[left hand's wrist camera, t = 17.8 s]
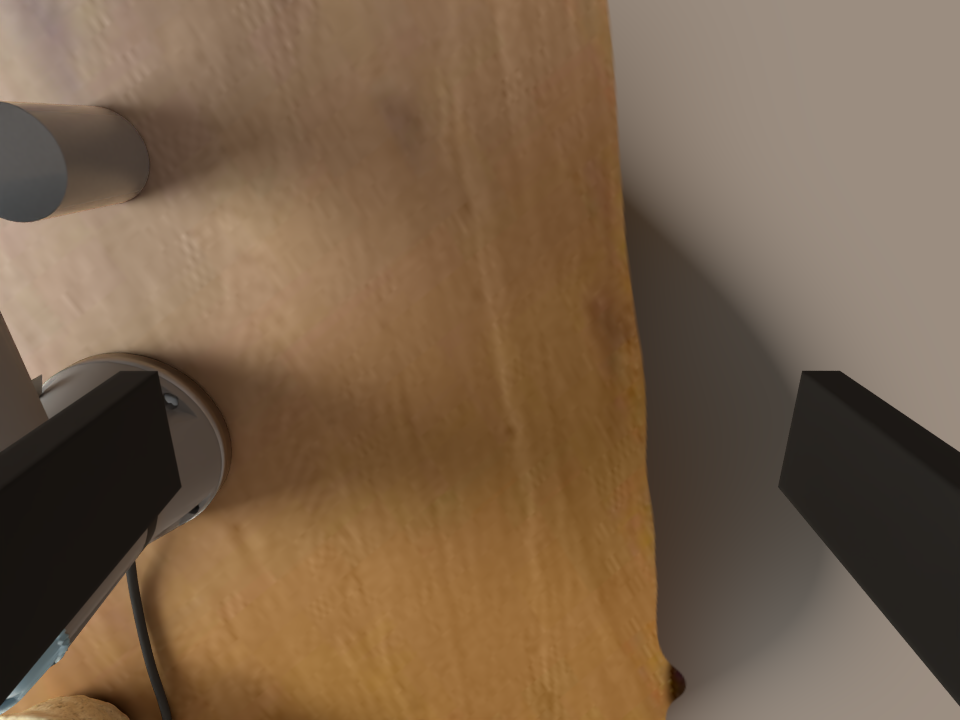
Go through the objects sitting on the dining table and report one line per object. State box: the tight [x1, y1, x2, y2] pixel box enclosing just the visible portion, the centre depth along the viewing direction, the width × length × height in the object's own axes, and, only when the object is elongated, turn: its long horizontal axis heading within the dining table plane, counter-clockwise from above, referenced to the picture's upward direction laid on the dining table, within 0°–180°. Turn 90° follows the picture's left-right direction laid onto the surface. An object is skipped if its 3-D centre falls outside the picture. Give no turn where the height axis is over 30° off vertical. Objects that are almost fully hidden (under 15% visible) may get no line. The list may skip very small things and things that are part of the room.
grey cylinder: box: [0, 101, 150, 223], centre depth 37 cm, size 6×6×9 cm
